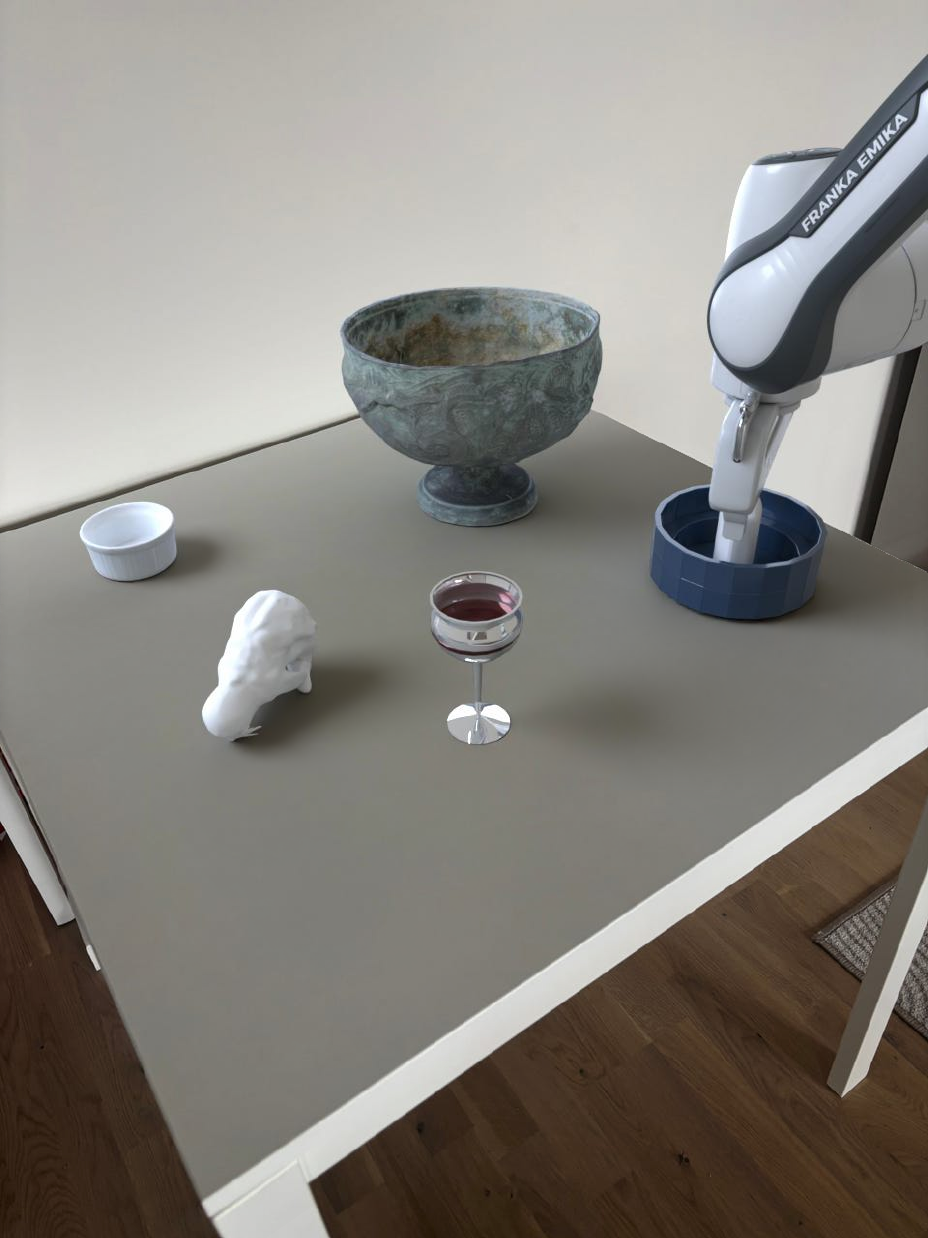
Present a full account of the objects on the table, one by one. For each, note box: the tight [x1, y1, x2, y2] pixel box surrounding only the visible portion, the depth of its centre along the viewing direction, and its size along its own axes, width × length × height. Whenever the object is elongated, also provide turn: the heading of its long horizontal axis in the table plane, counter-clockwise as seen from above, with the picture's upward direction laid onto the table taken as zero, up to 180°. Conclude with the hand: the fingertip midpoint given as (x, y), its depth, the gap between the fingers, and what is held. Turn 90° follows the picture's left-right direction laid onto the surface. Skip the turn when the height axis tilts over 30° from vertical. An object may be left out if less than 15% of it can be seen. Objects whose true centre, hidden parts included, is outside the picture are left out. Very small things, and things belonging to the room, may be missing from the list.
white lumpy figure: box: [201, 589, 319, 742], centre depth 76 cm, size 6×8×12 cm
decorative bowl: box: [339, 285, 604, 527], centre depth 100 cm, size 26×26×20 cm
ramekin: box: [79, 501, 178, 582], centre depth 96 cm, size 9×9×4 cm
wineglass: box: [429, 570, 524, 745], centre depth 73 cm, size 7×7×12 cm
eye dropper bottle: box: [713, 498, 762, 564], centre depth 88 cm, size 4×6×12 cm
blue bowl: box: [648, 483, 828, 620], centre depth 90 cm, size 15×15×6 cm
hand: (744, 511), depth 88 cm, fingers open, 8 cm apart
